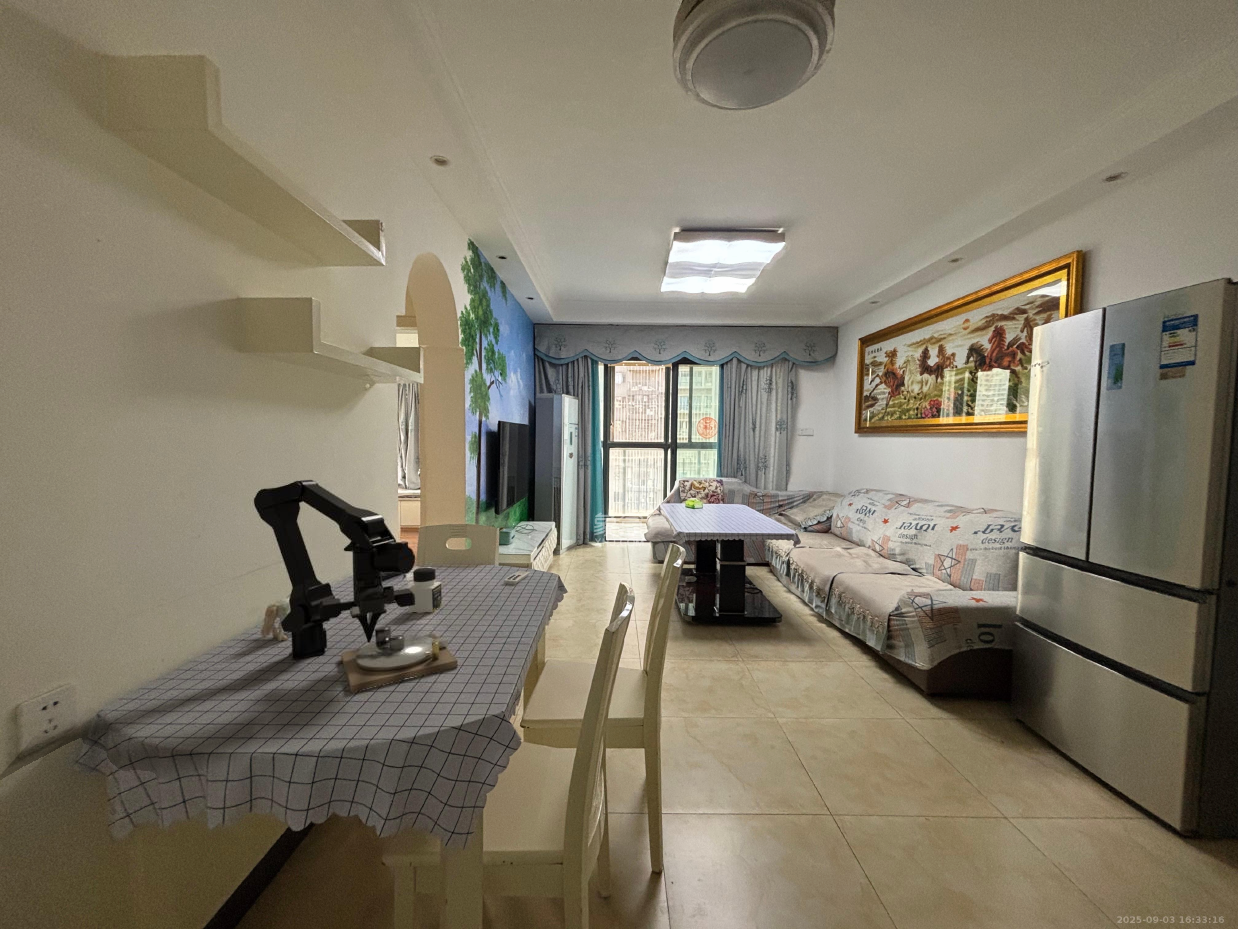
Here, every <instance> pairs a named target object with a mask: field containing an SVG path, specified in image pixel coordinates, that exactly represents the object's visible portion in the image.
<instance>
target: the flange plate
mask: <svg viewBox="0 0 1238 929" xmlns="http://www.w3.org/2000/svg"><path fill="white" fill-rule="evenodd" d="M391 628H392V627H391V626H388V625H386V626H385V625H384V626H379V627H377V628H376V627H375V629H374V633H375V634H374V635H375V636H374V638H375V640H374V642H372V643H370V644H368V645H364V646H363V647H362V649H361V648H360V649H361V650H359V651H358V652H357V654H356V664H357V666H358V667H359V668H361V669H364V670H369V671H389V670H397V669H402V668H406V667H410V666H414V665H417V664H419V663H422V662H424V661H426V660H428V659H430V658H431V657H432V642H439V648H442V647H446V648H447V647H449V638H448V637H447V636H444V637H438V639H433V638H431V637H427V636H424V635H421V634H420V635H419V634H418V635H416V634H415V635H413V634H411V635H409V634H408V635H404V636H405V648H404V649H401V650H397V651H391V650H390V640H389V638H390V637H392V629H391Z"/></svg>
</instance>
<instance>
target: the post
mask: <svg viewBox="0 0 1238 929" xmlns="http://www.w3.org/2000/svg"><path fill="white" fill-rule="evenodd" d="M405 636H406V635H402V634H397V635H393V636H392V635H391V637H390V638H389V640H390V650H391V651H397V650H401V649H404V648H405Z"/></svg>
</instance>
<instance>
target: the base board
mask: <svg viewBox="0 0 1238 929" xmlns="http://www.w3.org/2000/svg"><path fill="white" fill-rule="evenodd" d="M423 636H427V637H431V638H433V639H438V638H439V637H438V636H437V635H436V634H435V633H430V634H425V635H423ZM362 648H363V647H362ZM362 648H358V649H357V648H355V649H351V650H347V651H342V652H340V654H341V656H340V657H341V663H342V666H343V669H344V673H345V677H346V680H347V682H349V683H348V686H349V685H350V686H349V689H350V692H352V693H351V694H354V693H353V692H355V693H357V692H356V691H359V690H363V689H367V688H370V687H374V686H379V687H381V686H380V685H383V684H387V683H391V682H396V681H399V680H403V679H405V678H410V677H415V676H420V675H424V674H428V675H430V674H429V673H432V674H434V673H433V672H436V673H438V672H437V671H440V672H442V671H441V670H445V671H448V670H447V669H449V670H451V669H450V668H453V669H456V668H455V667H457V668H459V667H458V666H459V665H458V659H457V658H456V657H455V656H454V654H453V653H452V652H451V651H450V650H449V649H448V648H447V647H442V648H439V659H438V660H432V657H431V658H430V659H428V660H426V661H424V662H422V663H419V664H417V665H414V666H410V667H406V668H402V669H397V670H389V671H369V670H364V669H361V668H359V667H358V666H357V664H356V654H357V652H358V651H359V650H361V649H362ZM424 676H425V675H424ZM420 677H421V676H420ZM396 683H397V682H396ZM383 686H384V685H383ZM367 690H368V689H367ZM363 691H364V690H363ZM359 692H360V691H359Z"/></svg>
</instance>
